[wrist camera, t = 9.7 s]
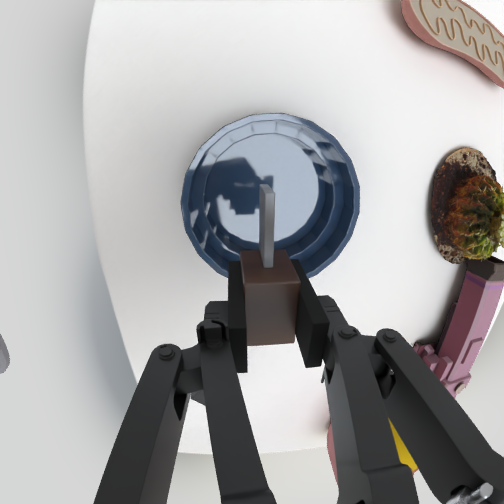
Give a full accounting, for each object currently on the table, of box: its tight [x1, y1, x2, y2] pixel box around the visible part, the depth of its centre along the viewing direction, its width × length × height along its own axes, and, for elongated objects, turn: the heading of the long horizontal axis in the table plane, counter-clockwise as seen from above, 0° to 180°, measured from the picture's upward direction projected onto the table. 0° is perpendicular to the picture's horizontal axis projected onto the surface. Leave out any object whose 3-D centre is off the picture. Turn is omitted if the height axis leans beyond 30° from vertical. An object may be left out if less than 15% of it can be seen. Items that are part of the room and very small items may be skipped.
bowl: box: [181, 113, 360, 278], centre depth 25 cm, size 15×15×6 cm
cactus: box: [431, 148, 504, 264], centre depth 25 cm, size 17×16×10 cm
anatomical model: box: [401, 0, 504, 88], centre depth 18 cm, size 23×10×5 cm, turn 87°
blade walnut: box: [240, 184, 301, 346], centre depth 15 cm, size 8×3×4 cm, turn 0°
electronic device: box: [414, 256, 504, 399], centre depth 33 cm, size 11×27×10 cm, turn 176°
